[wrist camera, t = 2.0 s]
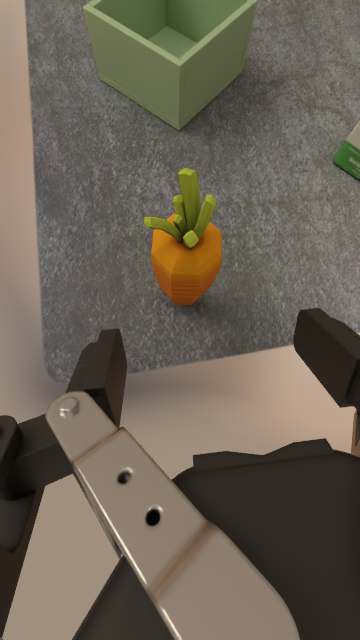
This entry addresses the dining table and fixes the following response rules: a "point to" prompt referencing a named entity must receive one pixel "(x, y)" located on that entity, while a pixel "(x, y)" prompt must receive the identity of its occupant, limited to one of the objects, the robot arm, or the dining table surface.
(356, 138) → the ink box
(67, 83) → the dining table surface
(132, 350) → the dining table surface
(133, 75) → the bin
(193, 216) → the carrot
